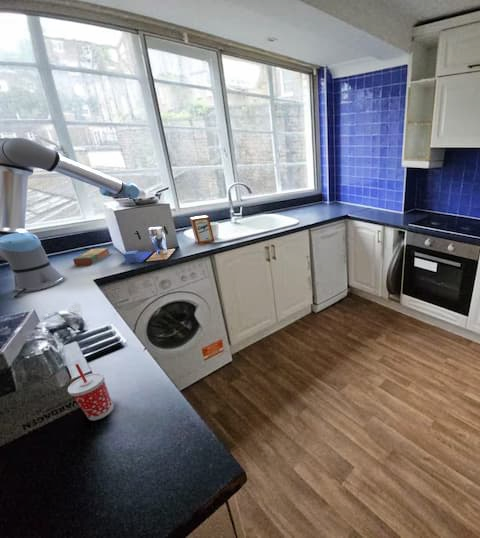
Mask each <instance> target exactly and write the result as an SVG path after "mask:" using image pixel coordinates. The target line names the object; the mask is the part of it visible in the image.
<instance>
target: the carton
mask: <svg viewBox="0 0 480 538" xmlns="http://www.w3.org/2000/svg"><path fill="white" fill-rule="evenodd" d="M109 255H110V251H109V248H107V247H105V248H103V247H102V248H91V249H89V250H87V251H85V252H83V253H82V254H80V255H78V256H76V257H74V258H73V259H72V261H73V263H74V266H75V267H80V266H81V267H82V266H92V265H94V264H95V263H97V262H99V261H100V260H102V259H103V258H105V257H107V256H109Z"/></svg>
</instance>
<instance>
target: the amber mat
mask: <svg viewBox="0 0 480 538" xmlns="http://www.w3.org/2000/svg"><path fill="white" fill-rule="evenodd" d="M167 250H168V251H169V253H167V254H164V255H157V254H156V251H155V252H153V253H152V254H151V256H149V257H148V259H146V262H152V261H162V260H167V259H168V258H169V257H170V256H171V255H172V254H173V253H174V252H175V251H176V248H169V249H168V248H167Z"/></svg>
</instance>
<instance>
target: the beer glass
mask: <svg viewBox="0 0 480 538" xmlns="http://www.w3.org/2000/svg"><path fill="white" fill-rule="evenodd" d="M147 231H148V235H149V238H150V241H151V243H152V244H153V247H154V248H155V252H156V254H157V255H164V254H167V253H169V251H168V248H167V243H166V241H167V240H166V234H165V231H164V229H163V227H162V226H161V225H159V226H151V227H148V228H147Z"/></svg>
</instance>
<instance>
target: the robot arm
mask: <svg viewBox="0 0 480 538" xmlns="http://www.w3.org/2000/svg"><path fill="white" fill-rule="evenodd" d="M35 168H36V169H41V170H44V171H47V172H50V173H51V172H56V173H59V174H61V175H64V176H66V177H69V178H71V179H74V180H77V181H80V182H83V183H85V184H88V185H90V186H94V187H96V188H98V189H99V193H100V194H101V195H102V196H104V197H107V198H115V197H118V198H117V199H122V198H129V199H134V198H137V197H139V195H140V193H141V190H140V188H139V187H138V186H137V185H136V184H135V183H133V182H129V183H126V182H125V181H122V180H119V179H117V178H115V177H112V176H110V175H107V174H106V173H103V172H100V171H98V170H96V169H93V168H91V167H88V166H86V165H83V164H82V163H79V162H76V161H74V160H72V159H70V158H67V157H64V156H62V155H61V154H60V152H58V151H56V150H54V149H51V148H50V147H47V146H45V145H43V144H41V143H39V142H36V141H33V140H31V139H29V138H28V139H27V138H24V137H23V138H22V137H4V138H0V260H1V261H5V262H7V263H8V265H9V267H10V269H11V270H12V272H13V274H14V275H13V276H14V277H13V278H14V289H15V290H16V292H17V293H16V294H15V295H13V298H15V299H16V298H18V297H19V296H21V294H23V293H30V292H37V291H40V290H41V291H42V290H45V289H49V288H51V287H54V286H56V285H59V284H61V283H62V282H63V281H64V277H63V275H62V274H61V273H60V272H59V271H58V270H57V269H56V268H54V266H53V265H52V264H51V261H50V260H49V257H48V255H47V253H46V251H45V249H44V247H43V245H42V242H41V240H40V239H39V237H38V235H36V234H34V233H32V232H30V231H28V230H27V229H26V228H25V227H26V215H27V197H28V184H29V183H28V182H29V176H32V175H33V174H34V169H35ZM113 196H114V197H113ZM164 230H165V231H164ZM163 231H164V234H165V236H166V235H169V231H168V228H167V229H166V227H165V226H164V229H163ZM136 232H137V233H135V234H137V235H138V236H137V235H136V236H137V238H138V240H139V241H141V240H142V237H141V235H140V233H139V231H136ZM135 234H134V235H135Z"/></svg>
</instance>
